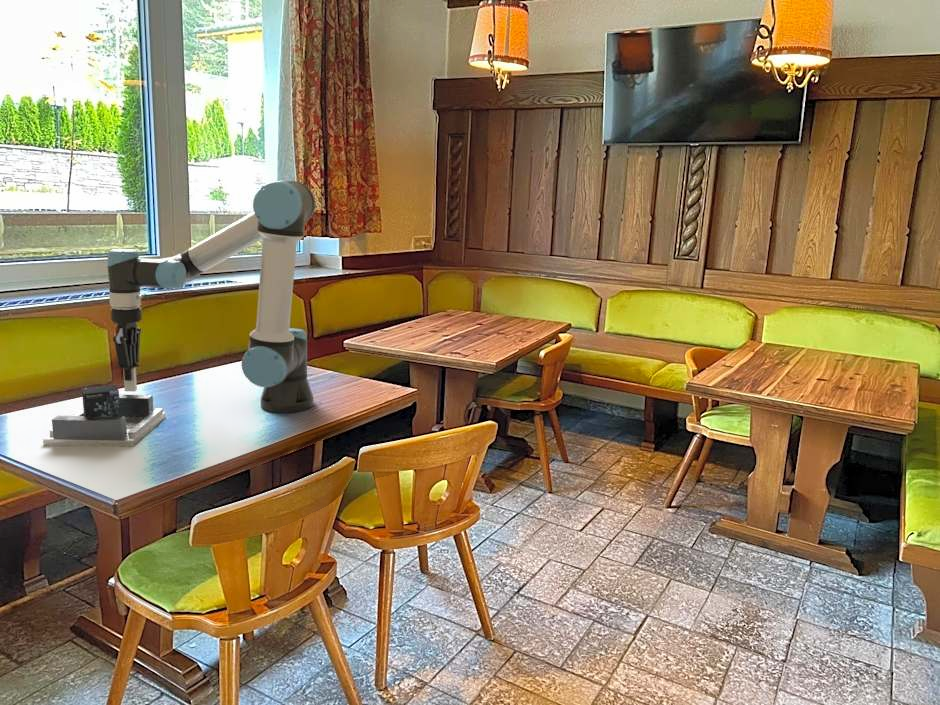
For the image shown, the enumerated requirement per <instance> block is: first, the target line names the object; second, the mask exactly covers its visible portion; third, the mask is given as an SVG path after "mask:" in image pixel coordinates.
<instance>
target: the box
mask: <svg viewBox="0 0 940 705" xmlns="http://www.w3.org/2000/svg"><path fill="white" fill-rule="evenodd" d="M119 391H120V390H119V388H118V386H117V384H110V385H102V386H101V385H100V386H91V387H81V393H82V394H81V395H82V406H83V408H82V409H84V416H98V417H121V416H120V400H119V395H120V392H119Z"/></svg>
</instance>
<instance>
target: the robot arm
mask: <svg viewBox="0 0 940 705" xmlns="http://www.w3.org/2000/svg"><path fill="white" fill-rule="evenodd" d="M252 201H253V202H252V209H253V211H252V212H251V213H249V214H247V215H245V216H244V217H242V218H240V219H239V220H237V221H235V222H233V223H232V224H230V225H228V226H226V227H225V228H222V229H221V230H219V231H217V232H215V233H214V234H212V235H210V236H208V237H207V238H205V239H204V240H201V241H200V242H199V243H197V244H195V245H193V246H191V247H189V248H188V249H186V250H183V251H182V252H180V253H178V254H176V255H174V256H173V255H172V256H168V257H163V258H144V257H143V258H142V257H140V255H139V252H138V250H137V249H131V248H116V249H115V248H114V249H111V250H109V251H108V252H107V265H106V268H107V272H108V273H107V274H108V285H109V286H108V287H109V288H108V289H109V292H108V293H109V305H110V307H111V309H109V310H110V320H111V322H112V323H114V324H115V323H116V324H117V327H116V336H115V335H114V336H113V337H112V340H113V343H114V345H115V350H116V357H117V362H118V368H119V369H120V370H123V385H124V392H137V391H138V387H137V386H138V385H137V384H138V383H137V368H139V367H140V364H139V363H140V344H141V343H140V342H141V340H140V339H141V332H142V328H141V327H137V326H138V324H137V323H139V322H141V321H142V320H143V317H142V308H141V307H140V306H141V305H142V303H141V302H142V300H141V299H143V295H141V287H147V288H159V289H165V290H170V289H181V288H182V287H183V285H185V282H190V281H193V280H195V279H197V278H198V277H199V276H200V275H201V274H202V273H204V272H206V271H208V270H209V269H211V268H213V267H215V266H218V264H221V263H222V262H224V261H226V260H228V259H230V258H231V257H233V256H235V255H237V254H238V253H240V252H242V251H244V250H246V249H247V248H249V247H251V246H253V245H254V244H257V243H259V242H260V241H262V244H261V245H262V247H261V257H260V258H261V260H260V273H259V284H258V285H259V287H258V296H257V298H258V299H257V310H256V311H257V313H256V323H255V325H256V326H255V328H254V329H253V330H252V331H250V332H249V338H248V339H249V340H248V350H246V351H245V352H244V354H243V357H242V359H241V370H242V373H243V374H244V377H245V378H247V380H249V382H250V383H251V384H253V385H254V386H256V387H260V388H263V391H262V393H261V396H260V407H261V409H263V410H265V411H268V412H271V413H272V412H273V413H280V414H281V413H282V414H283V413H296V412H297V413H298V412H302V411H306V410H308V409H311V408H312V407H313V406H314V394H313V392H312V390H311V386H310V384H309V380H308V339H307V338H308V336H307V332H306V330H304V329H300V328H292V327H290V325H291V314H292V303H293V301H292V300H293V291H294V290H293V289H294V282H295V281H294V279H295V269H296V255H297V245H298V242H299V241H300V240H302V239H303V238H304V235H305V234H304V233H305V226H306V225H305V224H306V222H308V221H309V220H310V219H311V218H312V216H313V215H314V213H315V210H316V206H317V205H316V204H317V202H316V198H315V195H314V193H313V192H312V190H311V188H310V187H308V186H307V185H306V184H305V183H303V182H300V181H297V180H296V181H295V180H279V179H277V180H272V181H270V182H266V183H264V184H263V185H262V186H261V187H260V188H259V189H258V190H257V191H256V193H255V195H254V198H253V200H252Z"/></svg>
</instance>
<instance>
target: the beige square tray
mask: <svg viewBox="0 0 940 705" xmlns="http://www.w3.org/2000/svg"><path fill="white" fill-rule="evenodd" d="M153 410H154V411H153V412H152V413H151V414H149V415H148V416H121V417H98V416H84V409H83V408H82V409H80V410H79V411H78V412H76V413H75V414H73V415H57V416H55V417H53V418H52V419H51V423H52V425H51V426H52V427H51V428H52V429H51V430H49V434H48V435H47V436H45V437H44V438H43V439H42V442H43V443H42V444H43V446H71V445H72V447H73V446H78V447H79V445H83V447H84V445H93V446H92V447H134V446H135V445H137V444H138V443H139V442H140V441H141V440H142V439H144V437H146V436H147V434H149V433H150V432H151V431H152V430H153V429H154V428H155V427H157V426H158V425H159V424H160V423H161V422H162V421H163V420H164V419H166V411H164V409H163V408H161V407H160V408H159V407H158V408H157V407H156V408H155V409H153Z"/></svg>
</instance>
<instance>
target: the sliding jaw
mask: <svg viewBox="0 0 940 705" xmlns="http://www.w3.org/2000/svg"><path fill="white" fill-rule="evenodd" d="M119 400H120V416H148V415H149V414H151V413H152V412H153V411H154V410H155V409H154V398H153V395H152V394H150V395H149V394H119Z"/></svg>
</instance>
